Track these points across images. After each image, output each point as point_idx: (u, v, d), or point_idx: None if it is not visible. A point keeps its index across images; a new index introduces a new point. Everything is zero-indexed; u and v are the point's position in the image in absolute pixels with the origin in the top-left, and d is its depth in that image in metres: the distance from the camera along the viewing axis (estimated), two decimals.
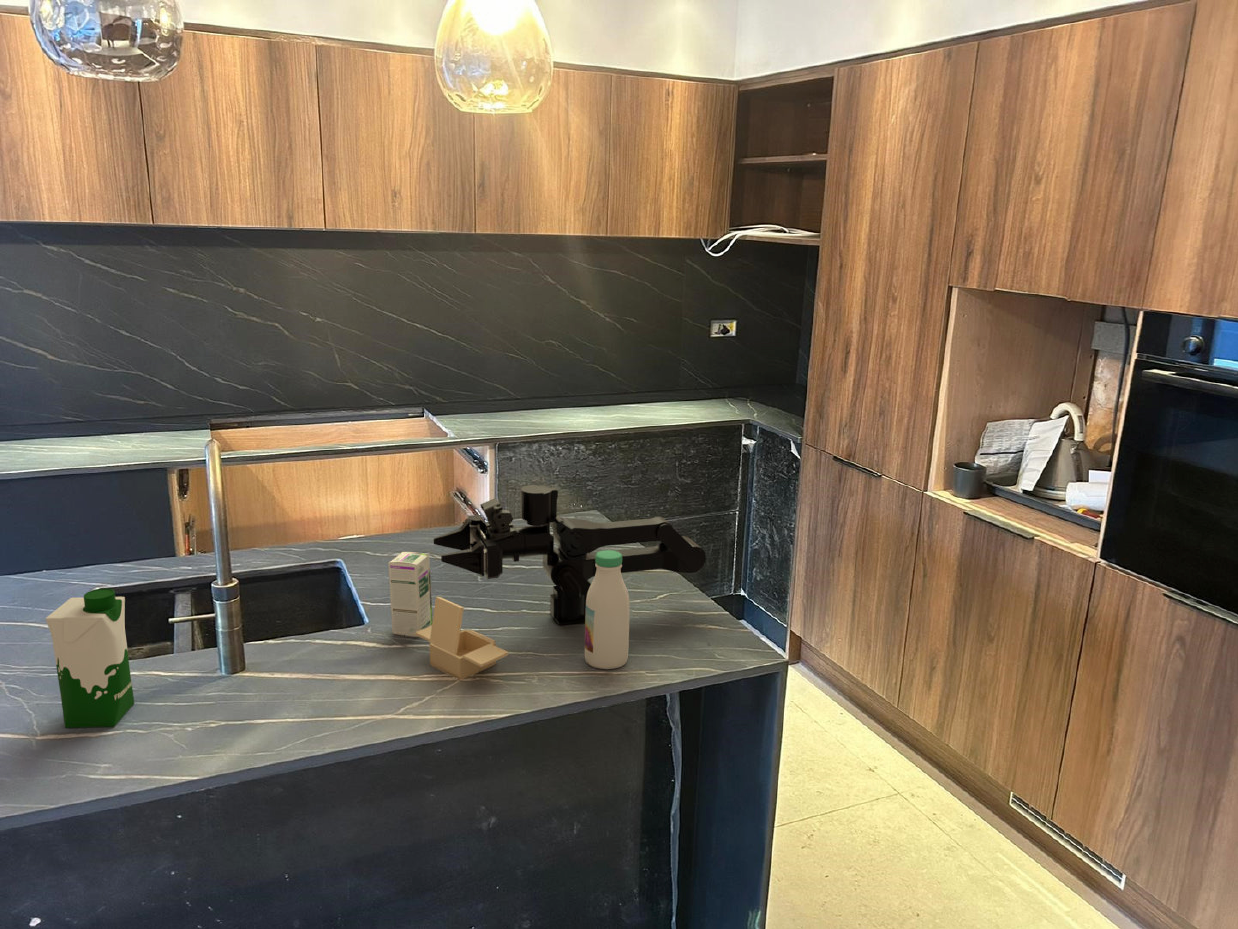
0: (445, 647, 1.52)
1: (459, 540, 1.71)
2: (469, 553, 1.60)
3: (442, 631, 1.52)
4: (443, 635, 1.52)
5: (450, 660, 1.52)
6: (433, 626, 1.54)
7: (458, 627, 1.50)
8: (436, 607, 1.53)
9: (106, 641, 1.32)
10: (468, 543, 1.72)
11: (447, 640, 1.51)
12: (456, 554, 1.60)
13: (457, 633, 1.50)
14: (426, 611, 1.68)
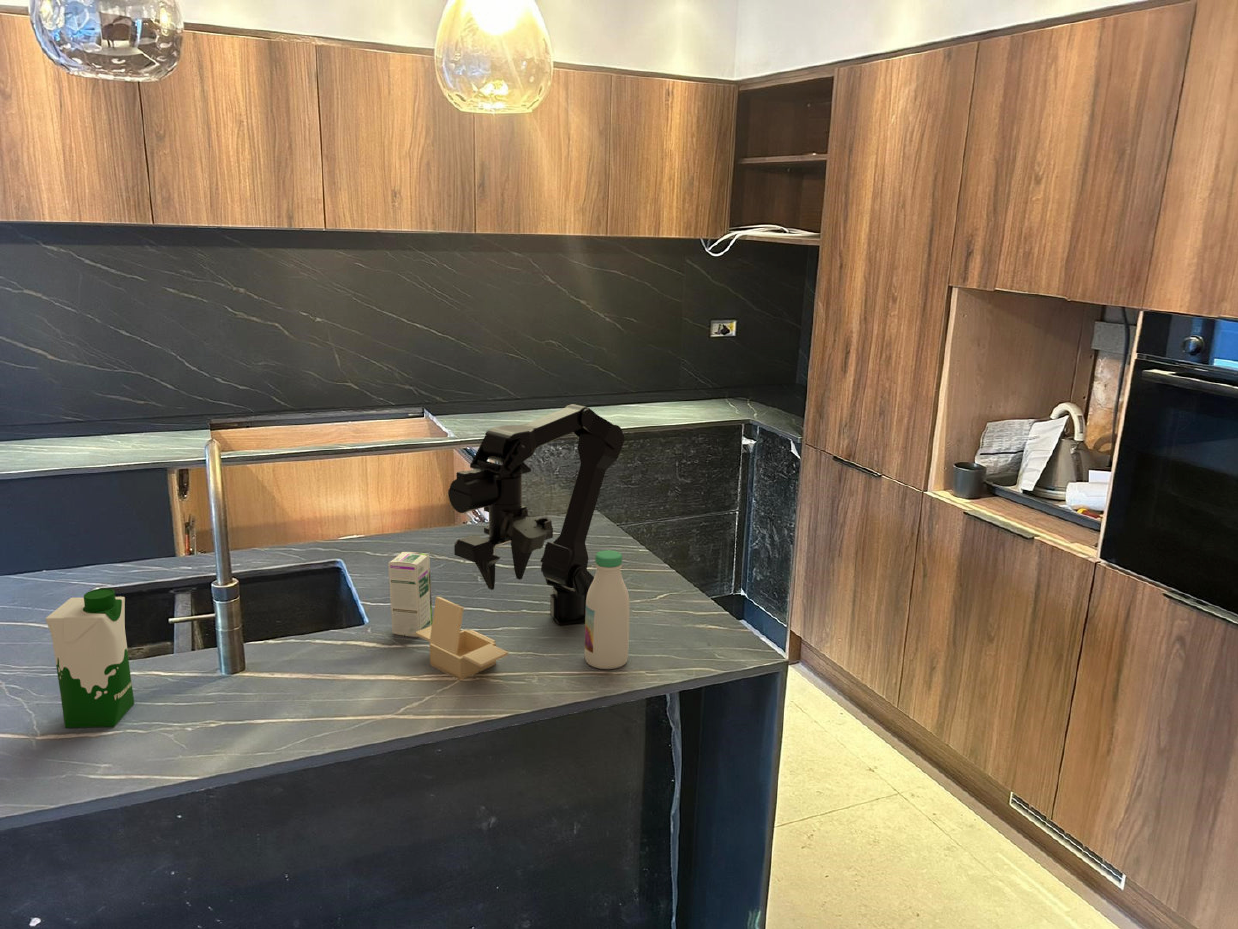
0: (445, 647, 1.52)
1: None
2: None
3: (442, 631, 1.52)
4: (443, 635, 1.52)
5: (450, 660, 1.52)
6: (433, 626, 1.54)
7: (458, 627, 1.50)
8: (436, 607, 1.53)
9: (106, 641, 1.32)
10: None
11: (447, 640, 1.51)
12: (526, 565, 1.63)
13: (457, 633, 1.50)
14: (426, 611, 1.68)
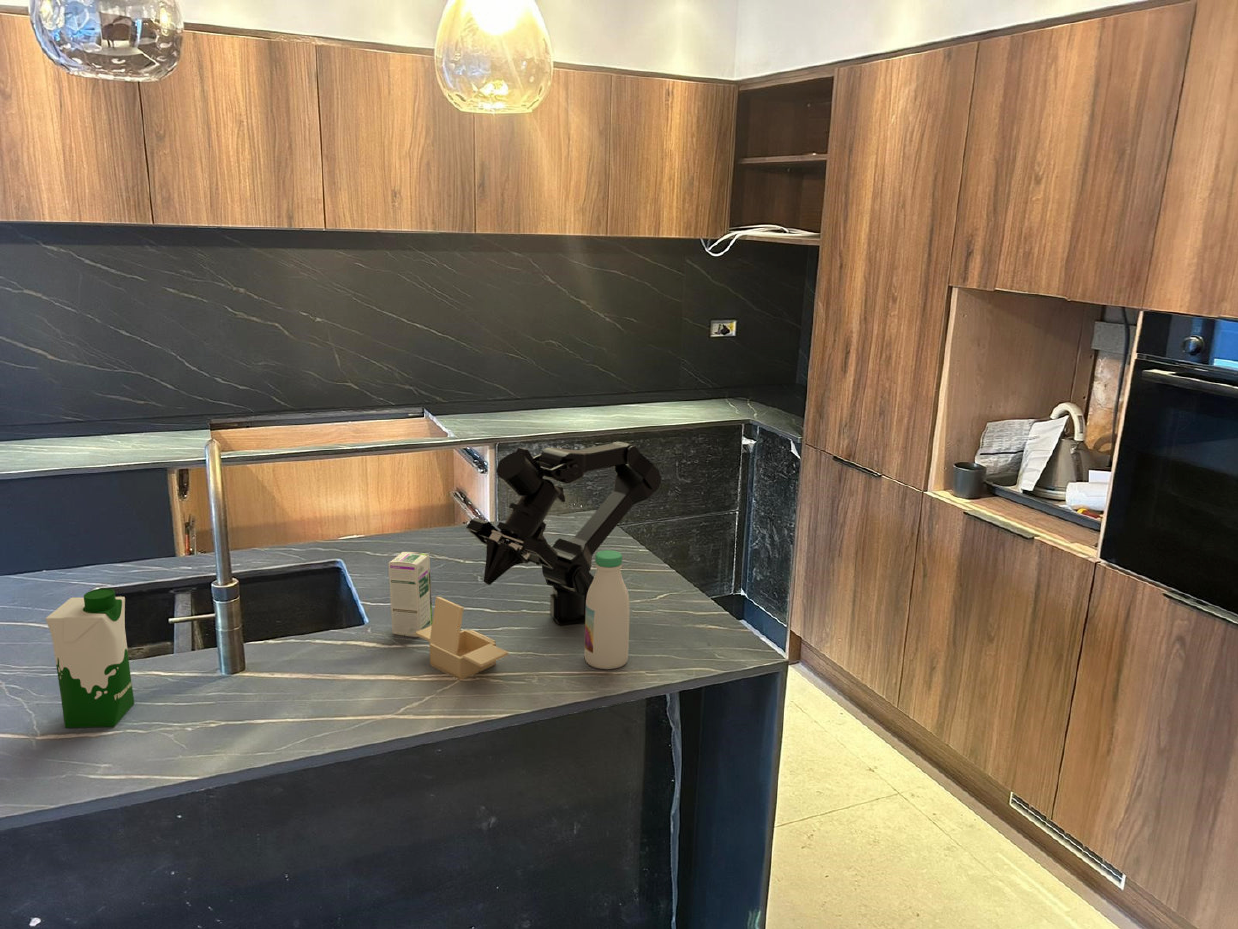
0: (445, 647, 1.52)
1: None
2: None
3: (442, 631, 1.52)
4: (443, 635, 1.52)
5: (450, 660, 1.52)
6: (433, 626, 1.54)
7: (458, 627, 1.50)
8: (436, 607, 1.53)
9: (106, 641, 1.32)
10: None
11: (447, 640, 1.51)
12: None
13: (457, 633, 1.50)
14: (426, 611, 1.68)
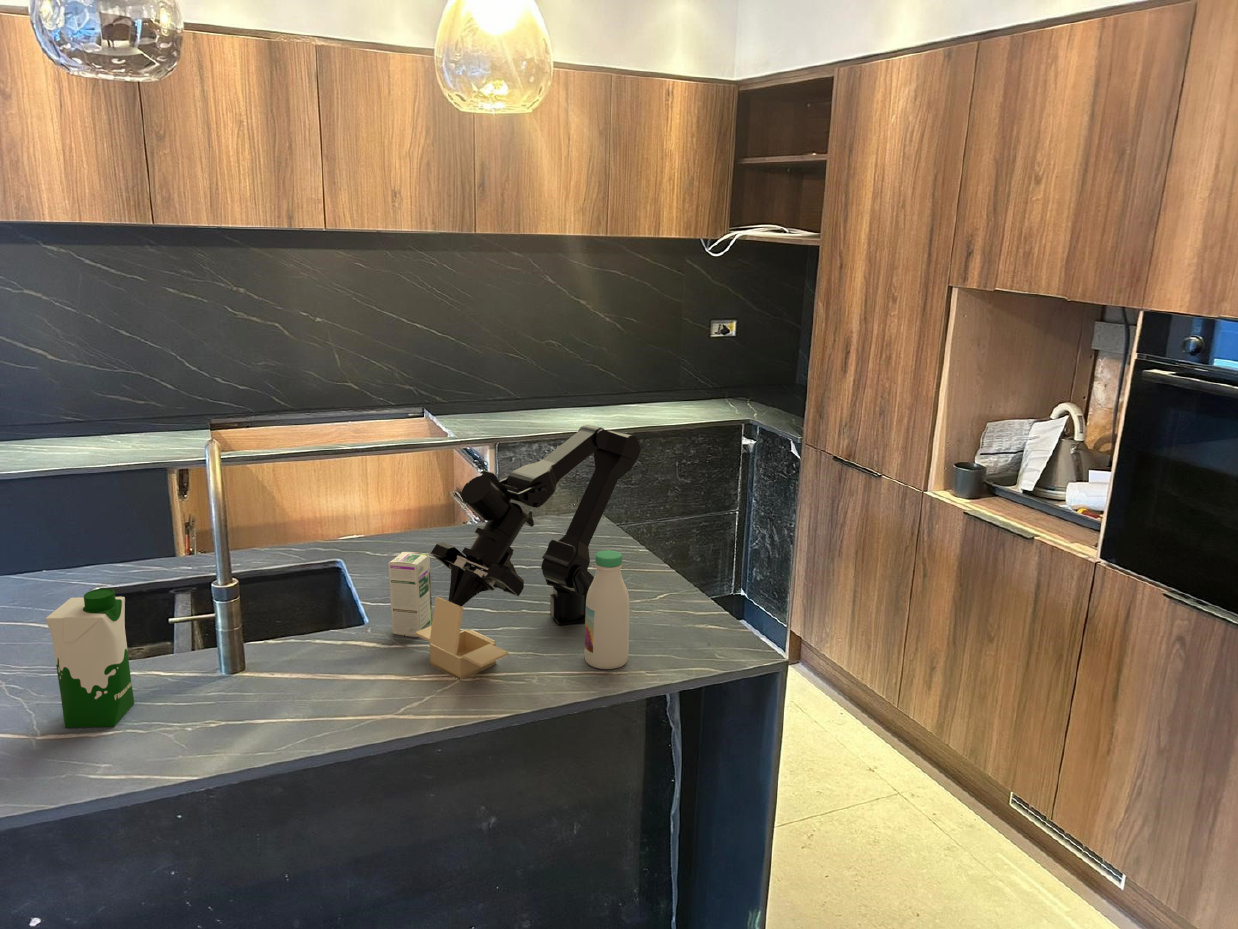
0: (445, 647, 1.52)
1: None
2: None
3: (441, 631, 1.52)
4: (442, 635, 1.52)
5: (450, 660, 1.52)
6: (433, 626, 1.54)
7: (458, 627, 1.50)
8: (436, 607, 1.53)
9: (106, 641, 1.32)
10: None
11: (447, 640, 1.51)
12: None
13: (456, 633, 1.50)
14: (426, 611, 1.68)
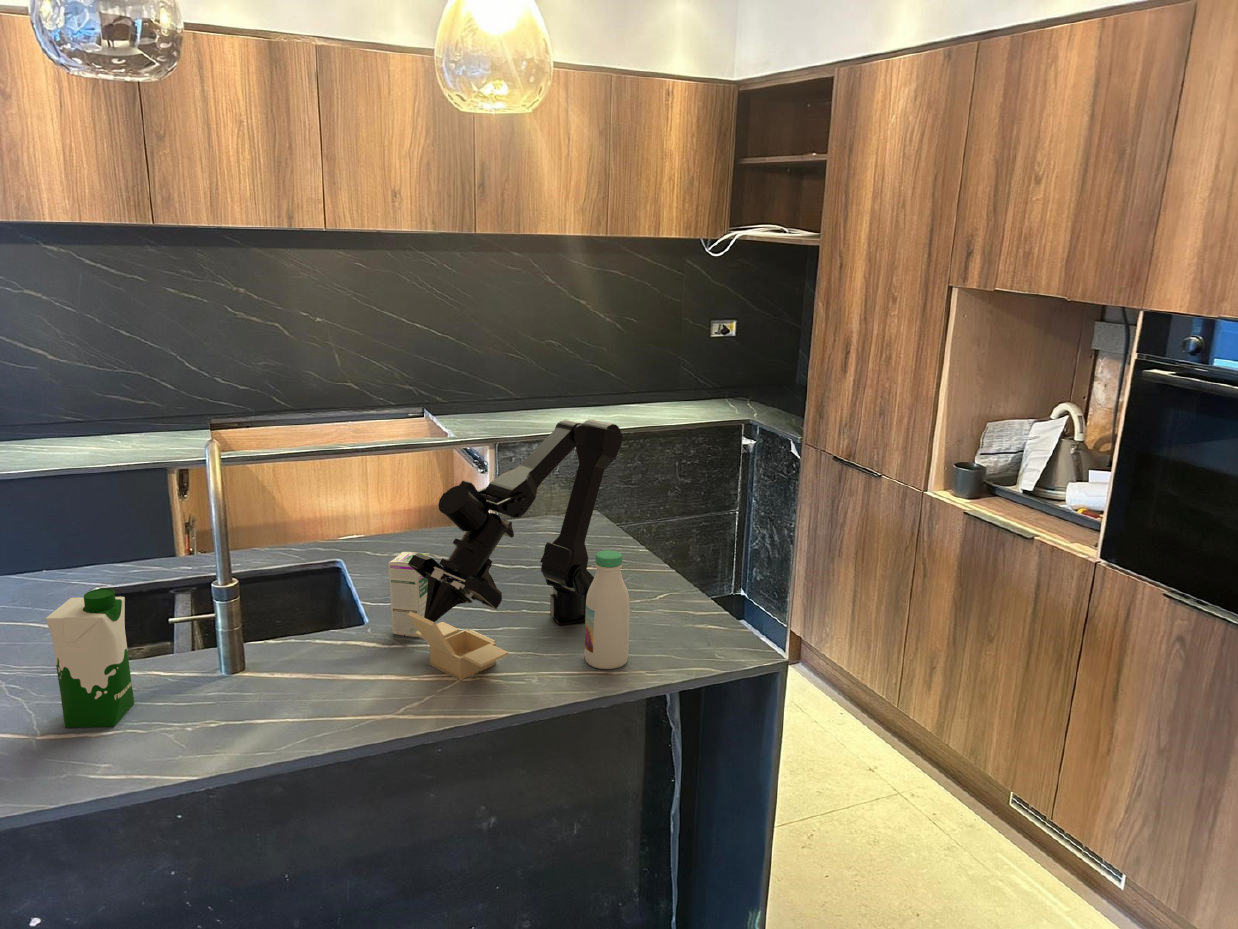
0: (442, 650, 1.51)
1: None
2: None
3: (431, 639, 1.51)
4: (434, 642, 1.51)
5: (450, 660, 1.52)
6: (422, 634, 1.52)
7: (441, 638, 1.48)
8: (413, 621, 1.50)
9: (106, 641, 1.32)
10: None
11: (440, 646, 1.51)
12: None
13: (444, 642, 1.48)
14: None
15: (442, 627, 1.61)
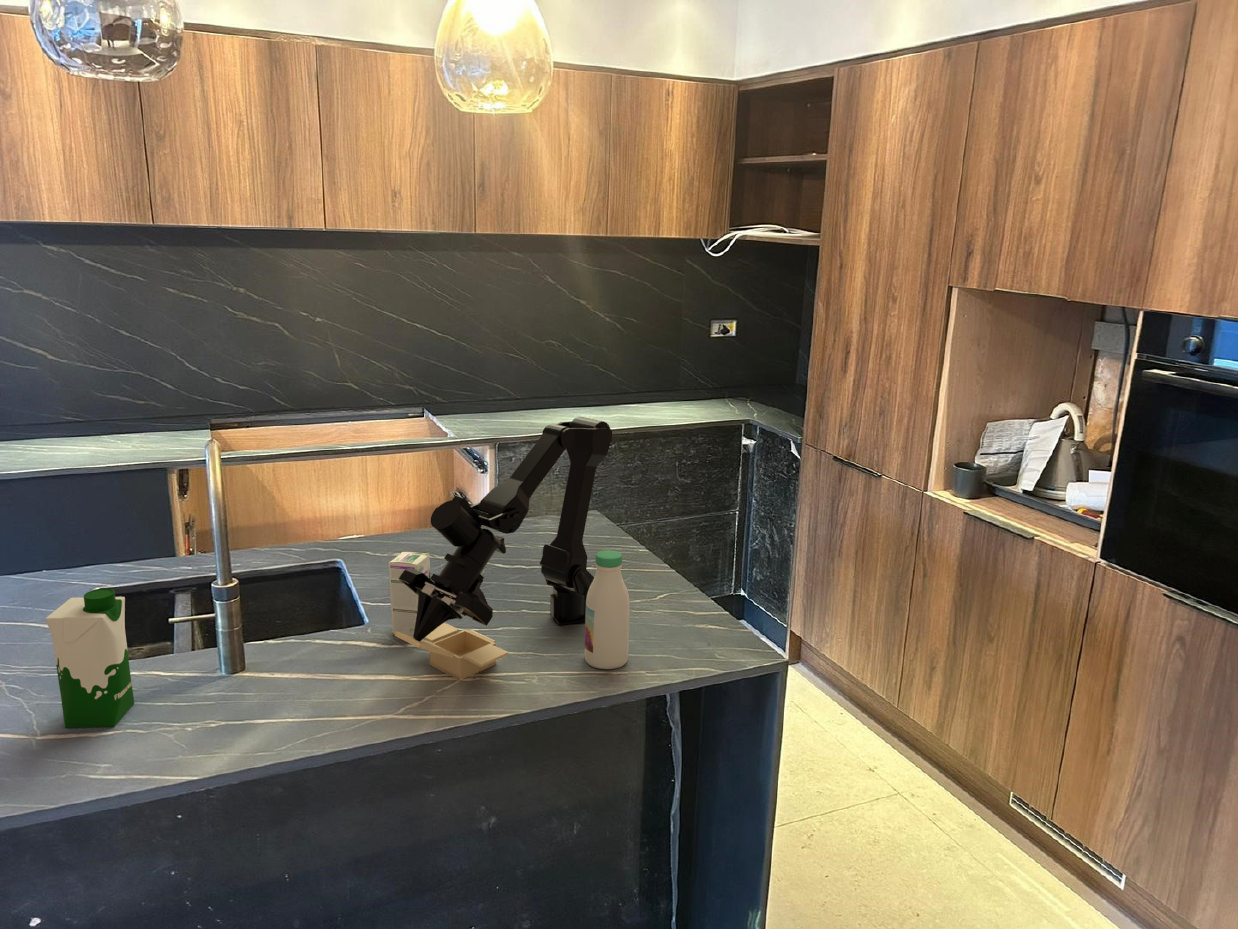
0: None
1: None
2: None
3: None
4: None
5: (450, 660, 1.52)
6: None
7: (433, 651, 1.47)
8: None
9: (106, 641, 1.32)
10: None
11: None
12: None
13: (438, 653, 1.48)
14: None
15: (442, 627, 1.61)
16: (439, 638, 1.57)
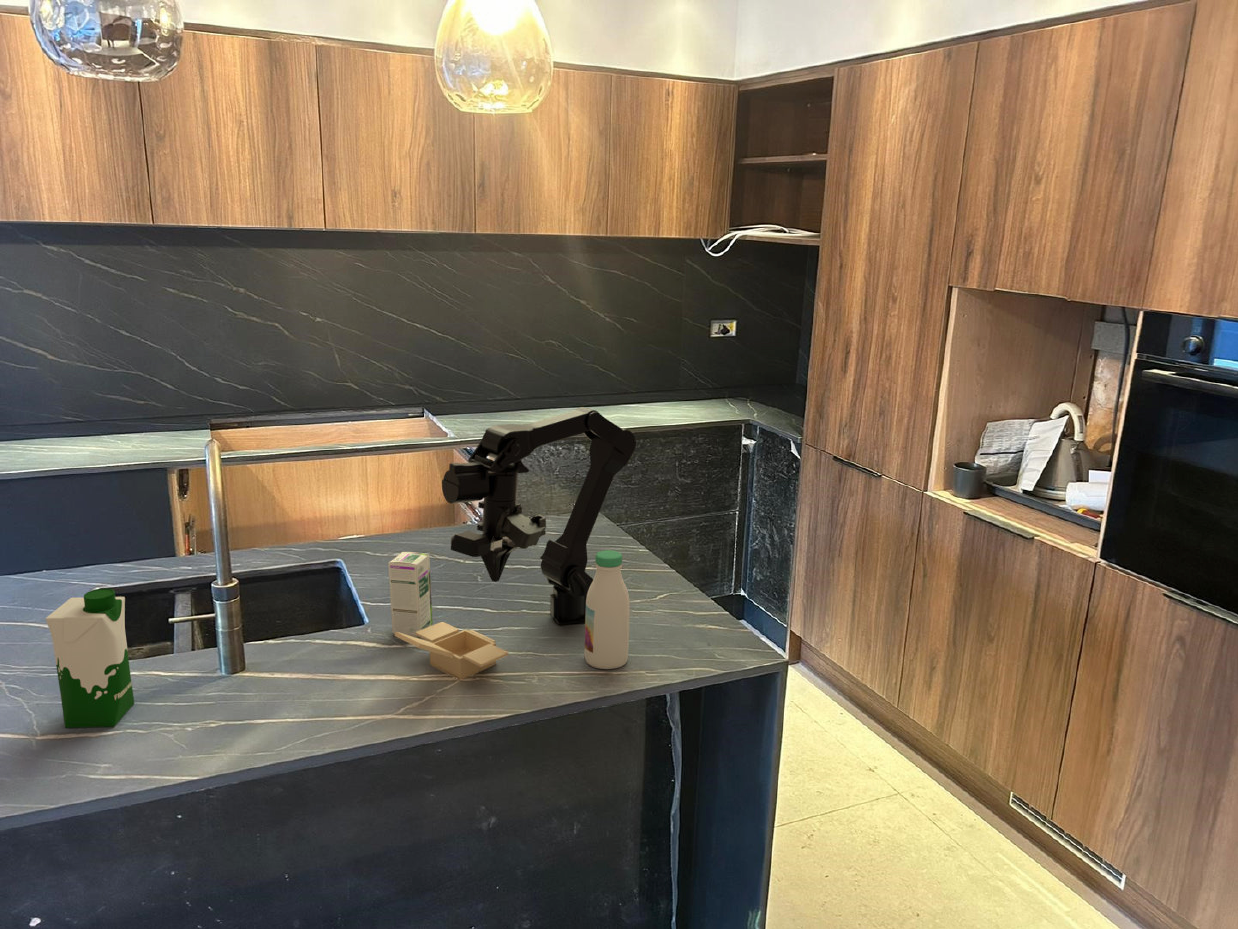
0: None
1: None
2: None
3: None
4: None
5: (450, 660, 1.52)
6: None
7: (433, 651, 1.47)
8: None
9: (106, 641, 1.32)
10: None
11: None
12: (503, 567, 1.64)
13: (438, 653, 1.48)
14: (426, 611, 1.68)
15: (442, 627, 1.61)
16: (439, 638, 1.57)
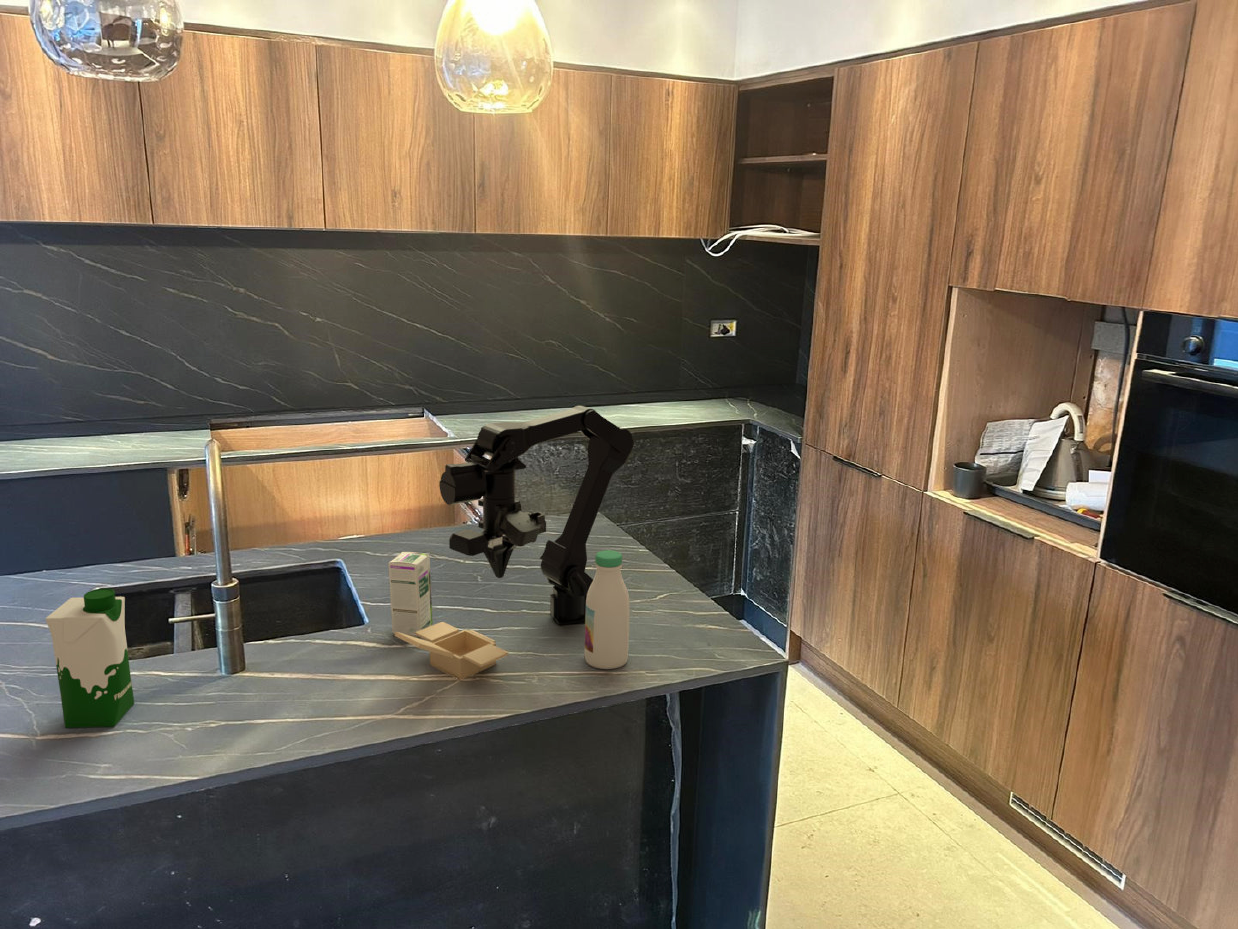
0: None
1: None
2: None
3: None
4: None
5: (450, 660, 1.52)
6: None
7: (433, 651, 1.47)
8: None
9: (106, 641, 1.32)
10: None
11: None
12: (507, 563, 1.64)
13: (438, 653, 1.48)
14: (426, 611, 1.68)
15: (442, 627, 1.61)
16: (439, 638, 1.57)
